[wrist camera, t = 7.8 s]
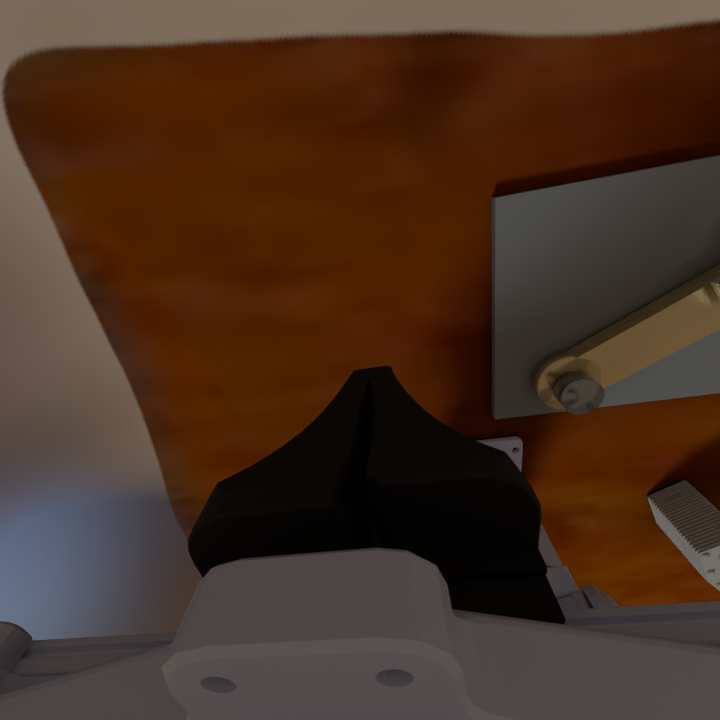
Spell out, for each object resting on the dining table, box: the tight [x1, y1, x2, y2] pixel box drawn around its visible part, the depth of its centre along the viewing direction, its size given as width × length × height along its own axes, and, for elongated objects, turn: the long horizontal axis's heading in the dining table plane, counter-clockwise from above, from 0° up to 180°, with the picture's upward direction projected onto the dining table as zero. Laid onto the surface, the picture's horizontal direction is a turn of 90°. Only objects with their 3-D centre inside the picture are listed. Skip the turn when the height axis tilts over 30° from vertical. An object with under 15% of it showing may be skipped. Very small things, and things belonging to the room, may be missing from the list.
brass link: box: [532, 264, 720, 409], centre depth 19 cm, size 12×4×1 cm, turn 128°
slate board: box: [492, 155, 720, 420], centre depth 19 cm, size 14×16×1 cm
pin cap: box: [553, 371, 605, 415], centre depth 19 cm, size 2×2×1 cm
